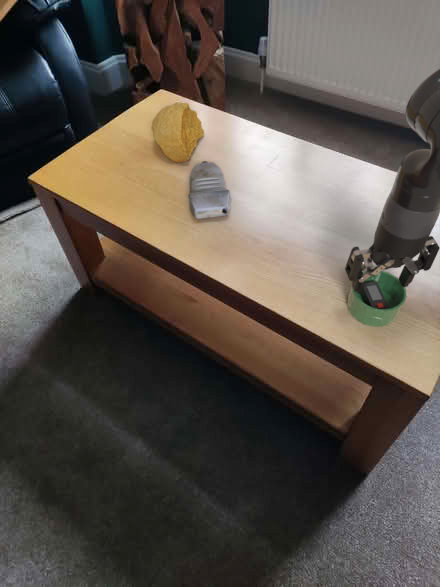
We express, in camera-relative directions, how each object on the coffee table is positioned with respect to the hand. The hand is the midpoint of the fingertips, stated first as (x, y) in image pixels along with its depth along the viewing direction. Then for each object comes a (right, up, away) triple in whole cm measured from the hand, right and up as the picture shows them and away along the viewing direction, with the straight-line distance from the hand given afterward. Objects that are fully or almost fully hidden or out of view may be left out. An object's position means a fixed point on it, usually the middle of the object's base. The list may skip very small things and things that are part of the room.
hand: (380, 286), depth 77 cm
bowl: (0, -4, +4) cm, 6 cm away
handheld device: (-31, +23, +26) cm, 47 cm away
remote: (0, -3, +4) cm, 5 cm away
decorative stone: (-40, +38, +39) cm, 68 cm away
